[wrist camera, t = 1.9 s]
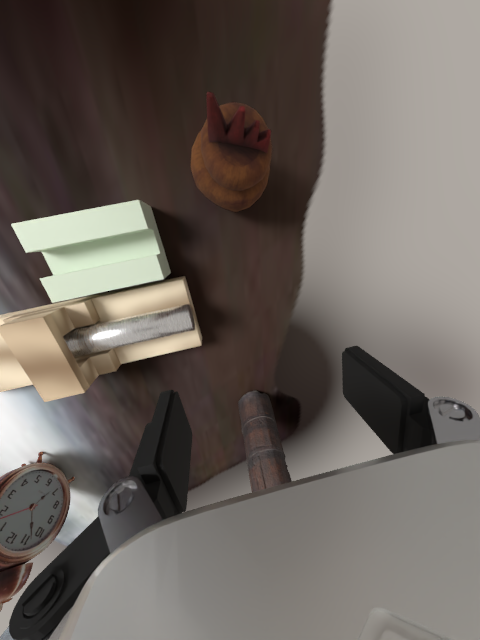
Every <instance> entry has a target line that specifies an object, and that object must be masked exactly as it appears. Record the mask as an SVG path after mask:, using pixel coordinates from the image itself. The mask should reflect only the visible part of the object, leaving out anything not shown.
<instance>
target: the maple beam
mask: <svg viewBox="0 0 480 640" xmlns="http://www.w3.org/2000/svg"><path fill="white" fill-rule="evenodd" d="M185 304H189V305H190V307H191V310H192V313H193V317H194V322H195V330H193V331H189V332H184V333H180V334H175V335H171V336H167V337H162V338H158V339H153V340H149V341H145V342H140V343H136V344H131V345H127V346H123V347H118V348H114V349H109V350H105V351H101V352H96V353H92V354H87V355H83V356H79V357H74V356H73V355H72V353H71V351H70V349H69V347H68V345H67V343H66V342H65V340H64V338H63V336H64V335H66V334H67V333H69V332H70V331H71V330H73V329H76V328H80V327H85V326H89V325H94V324H99V323H103V322H108V321H112V320H117V319H121V318H126V317H130V316H135V315H139V314H144V313H149V312H153V311H158V310H162V309H167V308H171V307H176V306H180V305H185ZM201 345H202V335H201V331H200V328H199V324H198V320H197V317H196V313H195V310H194V306H193V303H192V299H191V296H190V292H189V288H188V285H187V281H186V278H185V276H182V277H177V278H172V279H168V280H163V281H158V282H153V283H149V284H144V285H139V286H135V287H130V288H125V289H120V290H116V291H111V292H106V293H102V294H97V295H92V296H87V297H83V298H78V299H73V300H69V301H64V302H59V303H55V304H50V305H45V306H40V307H36V308H31V309H26V310H22V311H17V312H12V313H7V314H3V315H0V392H3V391H7V390H11V389H16V388H20V387H24V386H29V385H34V386H35V388H36V390H37V391H38V393H39V394H40V396H41V397H42V399H43V400H44V402H47V401H51V400H55V399H60V398H64V397H68V396H72V395H76V394H81V393H85V392H86V390H87V389H88V388H89V387H90V385H91V384H92V383H93V382H94V380H95V379H96V378H97V377H98V375H101V374H105V373H110V372H114V371H117V369H118V368H119V366H120V365H121V364H124V363H128V362H132V361H137V360H141V359H145V358H149V357H154V356H158V355H162V354H167V353H171V352H175V351H180V350H184V349H188V348H193V347H197V346H201Z"/></svg>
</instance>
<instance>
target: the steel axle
mask: <svg viewBox="0 0 480 640" xmlns="http://www.w3.org/2000/svg"><path fill="white" fill-rule="evenodd" d="M193 330H195V322H194V317H193V313H192V310H191V307H190V305H189V304H185V305H180V306H176V307H171V308H167V309H162V310H158V311H153V312H149V313H144V314H139V315H135V316H130V317H126V318H121V319H117V320H112V321H108V322H103V323H99V324H94V325H89V326H85V327H80V328H76V329H73V330H71V331H70V332H69V333H67V334H66V335H64V336H63V338H64V340H65V342H66V343H67V345H68V347H69V349H70V351H71V353H72V355H73V356H74V357H79V356H83V355H87V354H92V353H96V352H101V351H105V350H109V349H114V348H118V347H123V346H127V345H131V344H136V343H140V342H145V341H149V340H153V339H158V338H162V337H167V336H171V335H175V334H180V333H184V332H189V331H193Z"/></svg>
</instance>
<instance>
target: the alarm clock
mask: <svg viewBox="0 0 480 640" xmlns="http://www.w3.org/2000/svg"><path fill="white" fill-rule="evenodd" d="M38 455H39V457H38V460H37V462H36V463H33V464H29V465H26V464H22V467H20V468H18V469H15V470H13V471H10V472H8V473H6V474H4V475H2V476H1V477H0V611H1V610H2V605H3V603H5V602H8V601H10V600H11V599H12V598H11V597H12V596H14V595H15V594H16V593H18V592H19V591H20V590H21V588H22V587H23V586H24V585H25V583H26V581H27V579H28V577H29V575H30V572H31V569H32V565H33V563H27V564H25V563H26V562H28V561H29V560H31V559H32V558H34V557H35V556H37V555H38V554H40V553H41V552H42V551H43V550H45V549H46V548H47V547H48V546H49V545H50V544H51V543H52V541H53V540H54V539H55V538H56V536H57V535H58V533H59V532H60V530H61V528H62V526H63V524H64V522H65V520H66V517H67V514H68V510H69V505H70V488H69V483H70V482H71V481H73V480H74V479H75V478H74V477H72V478H71V479H70V480H68V481H67V478H66V477H65V475H64V474H63V472H62V471H61V470H60V469H59V468H57V467H55V466H54V465H51V464H48V463H42V455H43V452H40V453H39V454H38ZM9 598H10V599H9Z"/></svg>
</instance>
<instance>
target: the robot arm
mask: <svg viewBox="0 0 480 640" xmlns="http://www.w3.org/2000/svg"><path fill="white" fill-rule="evenodd" d="M342 367H343V368H342V370H343V394H344V397H345V398H346V399H347V401H348V402H349V403H350V404H351V405H352V407H353V408H354V409H355V410H356V411H357V412H358V414H359V415H360V416H361V417H362V418H363V419H364V421H365V422H366V423H367V424H368V425H369V426H370V428H371V429H372V430H373V431H374V432H375V433H376V435H377V436H378V437H379V438H380V439H381V440H382V442H383V443H384V444H385V445H386V446H387V447H388V449H389V450H390V451H391V452H392V453H393V455H389V456H386V457H382V458H378V459H375V460H371V461H367V462H363V463H360V464H355V465H352V466H348V467H344V468H340V469H337V470H333V471H330V472H326V473H322V474H318V475H314V476H311V477H307V478H303V479H300V480H296V481H292V482H289V483H285V484H281V485H278V486H274V487H270V488H267V489H263V490H260V491H256V492H252V493H249V494H245V495H242V496H238V497H235V498H231V499H228V500H224V501H220V502H217V503H214V504H210V505H207V506H203V507H200V508H197V509H193V510H191V511H187V512H185V511H186V505H187V493H188V481H189V469H190V457H191V445H192V431H191V428H190V425H189V422H188V419H187V417H186V414H185V411H184V408H183V405H182V403H181V400H180V397H179V394H178V392H174V391H173V390H169V391H165V392H161V394H160V397H159V400H158V403H157V406H156V409H155V413H154V416H153V419H152V422H150V423H148V424H147V425H146V427H145V430H144V433H143V436H142V439H141V442H140V445H139V448H138V451H137V454H136V457H135V460H134V463H133V466H132V469H131V472H130V475H129V477H125V478H123V479H121V480H119V481H118V482H116V483H115V484H113V485H112V486H111V487H110V488H109V489H108V490H107V492H106V493H105V494H104V496H103V498H102V499H101V501H100V504H99V508H98V517H97V518H96V519H95V520H94V521H93V522H92V523H91V524H90V525H89V526H88V527H87V528H86V529H85V530H84V531H83V532H82V533H81V534H80V535H79V536H78V537H77V538H76V539H75V540H74V541H73V542H72V543H71V544H70V545H69V546H68V547H67V548H66V549H65V550H64V551H63V552H61V553H60V554H59V555H58V556H57V557H56V558H55V559H54V560H53V561H52V562H51V563H50V564H49V565H48V566H47V567H46V568H45V569H44V570H43V571H42V572H41V573H40V574H39V575H38V576H37V577H36V578H35V579H34V580H33V581H32V582H31V584H30V585H29V586H28V587H27V588H26V590H25V591H24V593H23V594H22V596H21V597H20V599H19V600H18V602H17V604H16V606H15V608H14V610H13V613H12V616H11V619H10V622H9V626H8V628H7V629H6V630H5V631H4V633H3V634H2V635H1V636H0V640H480V417H479V415H478V413H477V412H476V411H475V409H473V408H472V407H471V406H469V405H468V404H466V403H464V402H462V401H459V400H457V399H453V398H449V397H434V398H432V399H430V400H429V399H428V398H427V397H425V396H424V393H422V392H421V391H419V390H418V389H416V388H415V387H414V386H412V385H411V384H410V383H408V382H407V381H405V380H404V379H403V378H401V377H400V376H399V375H397V374H396V373H394V372H393V371H392V370H390V369H389V368H387V367H386V366H385V365H383V364H382V363H381V362H379V361H378V360H376V359H375V358H374V357H372V356H371V355H369V354H368V353H366V352H365V351H364V350H362V349H361V348H360V347H358V346H353V347H349V348H346V349H345V351H344V352H343V353H342ZM182 512H184V513H182Z"/></svg>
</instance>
